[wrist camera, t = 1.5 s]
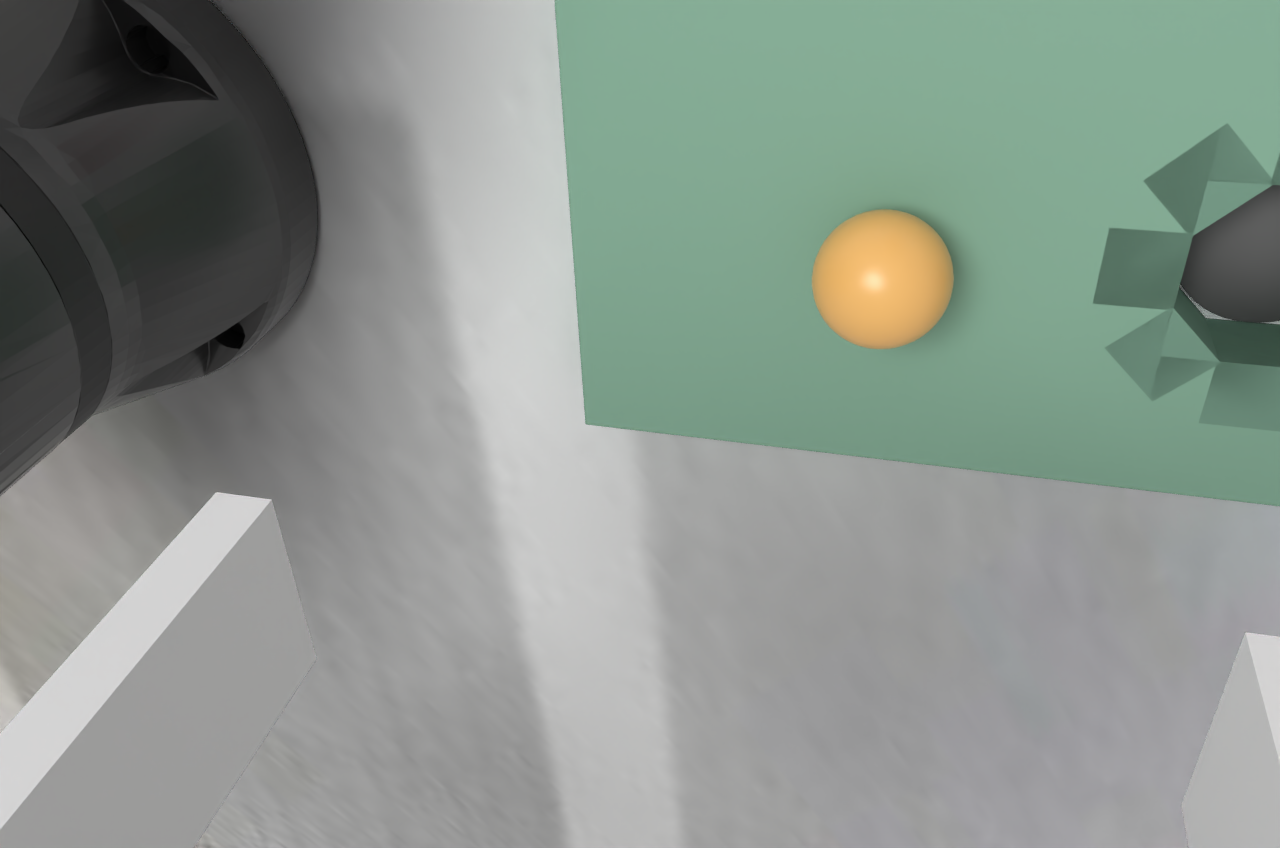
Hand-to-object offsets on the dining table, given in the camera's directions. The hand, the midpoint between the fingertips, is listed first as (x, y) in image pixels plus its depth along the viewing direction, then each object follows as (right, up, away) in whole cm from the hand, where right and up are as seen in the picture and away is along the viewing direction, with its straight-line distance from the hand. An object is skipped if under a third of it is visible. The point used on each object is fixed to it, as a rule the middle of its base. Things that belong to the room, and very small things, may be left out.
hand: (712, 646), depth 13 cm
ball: (+5, +6, +16) cm, 18 cm away
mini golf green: (+9, +8, +19) cm, 23 cm away
